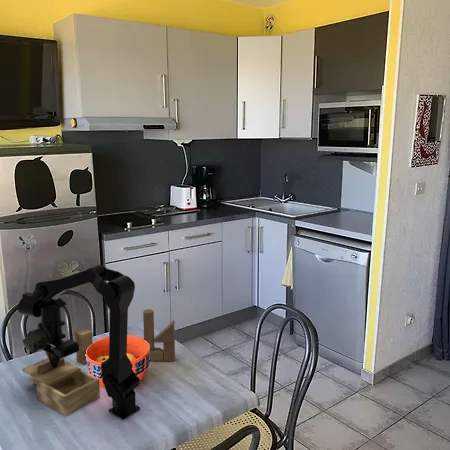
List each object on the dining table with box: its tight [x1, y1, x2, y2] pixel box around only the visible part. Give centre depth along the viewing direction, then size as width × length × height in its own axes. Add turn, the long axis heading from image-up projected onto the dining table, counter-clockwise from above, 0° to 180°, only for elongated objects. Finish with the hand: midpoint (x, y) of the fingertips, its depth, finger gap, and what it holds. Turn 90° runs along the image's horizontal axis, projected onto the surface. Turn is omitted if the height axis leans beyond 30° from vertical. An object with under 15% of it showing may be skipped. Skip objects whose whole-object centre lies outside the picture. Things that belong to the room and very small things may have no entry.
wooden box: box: [28, 369, 101, 417], centre depth 143 cm, size 26×12×6 cm, turn 53°
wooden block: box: [142, 308, 176, 363], centre depth 162 cm, size 4×11×18 cm, turn 89°
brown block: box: [74, 328, 94, 366], centre depth 161 cm, size 4×4×11 cm
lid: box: [21, 357, 82, 386], centre depth 143 cm, size 14×11×3 cm
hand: (54, 367), depth 142 cm, fingers closed
